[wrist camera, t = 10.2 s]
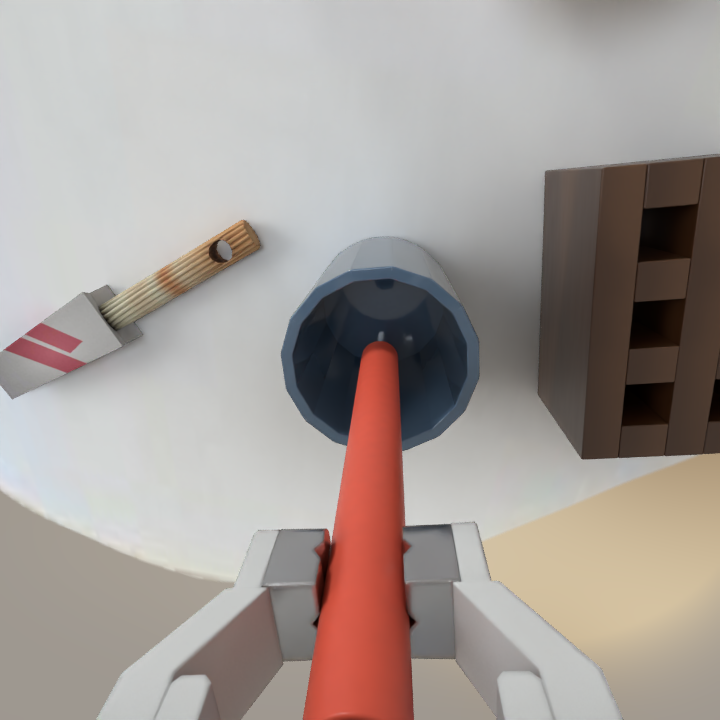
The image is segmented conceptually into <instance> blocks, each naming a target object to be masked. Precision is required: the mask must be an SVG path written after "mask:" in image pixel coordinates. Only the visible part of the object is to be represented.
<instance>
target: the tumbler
mask: <svg viewBox="0 0 720 720" xmlns="http://www.w3.org/2000/svg"><path fill="white" fill-rule="evenodd" d="M478 340H479V339H478V337H477V335H476V333H475V330H474V328H473V326H472V324H471V322H470V320H469V318H468V315H467V313H466V311H465V309H464V307H463V305H462V303H461V302H460V300H459V298H458V296H457V294H456V293H455V291H454V289H453V287H452V286H451V284H450V282H449V280H448V278H447V277H446V275H445V273H444V271H443V270H442V268H441V266H440V265H439V263H438V262H437V261H435V259H434V258H433V257H432V256H431V255H430V254H429V253H428V252H426V251H425V250H424V249H422V248H421V247H420V246H418V245H416V244H414V243H412V242H409V241H407V240H404V239H400V238H395V237H374V238H368V239H365V240H362V241H359V242H357V243H355V244H353V245H351V246H349V247H348V248H346V249H345V250H343V251H342V252H340V253H339V254H338V255H337V256H336V258H335V259H334V260H333V261H332V263H331V264H330V265H329V266H328V268H327V269H326V270H325V271H324V272H323V274H322V275H321V277H320V278H319V279H318V281H317V282H316V283H315V285H314V286H313V288H312V289H311V290H310V292H309V293H308V294H307V296H306V297H305V299H304V300H303V301H302V303H301V304H300V305H299V307H298V308H297V310H296V311H295V312H294V314H293V315H292V316H291V319H290V321H289V324H288V328H287V332H286V336H285V339H284V343H283V347H282V351H281V359H282V366H283V372H284V379H285V385H286V389H287V392H288V393H289V395H290V396H291V398H292V400H293V401H294V403H295V405H296V406H297V408H298V409H299V411H300V413H301V414H302V416H303V418H304V419H305V420H306V421H307V422H308V423H309V424H311V425H312V426H313V427H315V428H316V429H317V430H319V431H320V432H321V433H323V434H324V435H325V436H327V437H328V438H329V439H331V440H332V441H334V442H336V443H339V444H342V445H346V446H347V444H348V437H349V431H350V425H351V419H352V413H353V407H354V400H355V394H356V388H357V382H358V376H359V370H360V363H361V357H362V353H363V350H364V349H365V348H366V346H367V345H369V344H370V343H373V342H376V341H384V342H387V343H389V344H391V345H392V346H393V347H394V348H395V350H396V352H397V354H398V370H399V393H400V416H401V438H402V451H404V450H408V449H410V448H413V447H415V446H417V445H420V444H422V443H424V442H427V441H429V440H432V439H434V438H436V437H438V436H440V435H441V434H442V433H443V432H444V431H445V430H446V429H447V428H448V427H449V426H450V425H451V424H452V423H453V422H454V421H455V420H456V419H457V418H458V417H459V416H460V415H462V414H463V413H464V411H465V410H466V408H467V405H468V403H469V401H470V398H471V396H472V394H473V391H474V389H475V387H476V384H477V382H478V380H479V341H478Z"/></svg>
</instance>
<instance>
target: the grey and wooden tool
mask: <svg viewBox="0 0 720 720" xmlns="http://www.w3.org/2000/svg"><path fill="white" fill-rule="evenodd" d="M220 240H224V241H226V242H227V243H228V244H229V245H230V247H231V249H232V258H231V259H230V260H229V261H227V260H225V259H222V257H221V256H220V255H219V254H218V251H217V243H218V242H219V241H220ZM259 248H260V243H259V240H258V237H257V235H256V234H255V232H254V231H253V229H252V227H251V226H250V225H249V224H248V223H247V222H246V221H245V220H241V221H239V222H238V223H236V224H234V225H233V226H231V227H229V228H228V229H226V230H224V231H223V232H221V233H220V234H218V235H216V236H215V237H213V238H211V239H210V240H208V241H207V242H205V243H203V244H202V245H200V246H198V247H197V248H195V249H193V250H192V251H190V252H189V253H187V254H185V255H184V256H182V257H180V258H179V259H177V260H176V261H174V262H172V263H171V264H169V265H167V266H165V267H164V268H162V269H160V270H159V271H157V272H155V273H154V274H152V275H150V276H149V277H147V278H145V279H144V280H142V281H140V282H139V283H137V284H135V285H134V286H132V287H130V288H129V289H127V290H125V291H124V292H122V293H120V294H119V295H117V296H115V295H114V294H113V292H112V291H111V289H110V288H109V287H108V285H105V286H103V287H101V288H99V289H97V290H95V291H93V292H91V293H85V292H82V293H81V294H79V295H78V296H77V297H75V298H74V299H72V300H71V301H70V302H68V303H67V304H66V305H64V306H63V307H62V308H60V309H59V310H57V311H56V312H55V313H53V314H52V315H51V316H49V317H48V318H47V319H45V320H44V321H42V322H41V323H40V324H38V325H37V326H36V327H34V328H33V329H32V330H30V331H29V332H27V333H26V334H25V335H23V336H22V337H21V338H19V339H18V340H17V341H15V342H14V343H12V344H11V345H10V346H8V347H7V348H6V349H4V350H3V351H2V352H0V385H1V386H2V388H3V389H4V390H5V391H6V392H7V394H8V395H9V396H10V397H11V398H12V399H14V398H16V397H18V396H20V395H22V394H24V393H27V392H29V391H31V390H33V389H35V388H37V387H39V386H41V385H43V384H45V383H47V382H49V381H52V380H54V379H56V378H58V377H60V376H62V375H64V374H66V373H68V372H70V371H72V370H74V369H77V368H79V367H81V366H83V365H85V364H87V363H89V362H91V361H93V360H95V359H97V358H100V357H102V356H104V355H106V354H108V353H110V352H112V351H114V350H116V349H118V348H120V347H122V346H124V345H125V344H126V343H128V342H130V341H132V340H134V339H136V338H138V337H140V336H142V335H143V334H142V333H141V331H140V330H139V328H138V327H137V326H136V324H135V323H134V321H136V320H137V319H139V318H141V317H143V316H144V315H146V314H148V313H150V312H151V311H153V310H155V309H156V308H158V307H160V306H162V305H163V304H165V303H167V302H168V301H170V300H172V299H174V298H175V297H177V296H179V295H180V294H182V293H184V292H185V291H187V290H189V289H190V288H192V287H194V286H196V285H197V284H199V283H201V282H202V281H204V280H206V279H207V278H209V277H211V276H213V275H214V274H216V273H218V272H219V271H221V270H223V269H225V268H227V267H228V266H230V265H232V264H234V263H235V262H237V261H239V260H241V259H242V258H244V257H246V256H248V255H249V254H251V253H253V252H255V251H256V250H258V249H259Z"/></svg>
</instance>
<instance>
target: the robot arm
mask: <svg viewBox="0 0 720 720" xmlns="http://www.w3.org/2000/svg"><path fill="white" fill-rule="evenodd" d="M330 548H331V542H330V536H329V531H328V530H327V529H281V530H258V531H257V532H256V533H255V534H254V535H253V538H252V541H251V543H250V546H249V548H248V551H247V553H246V556H245V559H244V561H243V564H242V566H241V569H240V571H239V574H238V577H237V579H236V582H235V584H234V587H233V588H226V589H225V590H223V591H222V592H221V593H220V594H219V595H217V596H216V597H215V598H214V599H212V600H211V601H210V602H209V603H208V604H206V605H205V606H204V607H203V608H201V609H200V610H199V611H198V612H197V613H195V614H194V615H193V616H191V617H190V618H189V619H188V620H187V621H185V622H184V623H183V624H182V625H180V626H179V627H178V628H177V629H176V630H174V631H173V632H172V633H171V634H169V635H168V636H167V637H166V638H165V639H163V640H162V641H161V642H160V643H159V644H157V645H156V646H155V647H153V648H152V649H151V650H150V651H148V652H147V653H146V654H145V655H144V656H142V657H141V658H140V659H139V660H137V661H136V662H135V663H134V664H133V665H131V666H130V667H129V668H128V669H127V670H125V671H124V672H123V673H122V674H121V675H120V677H119V679H118V681H117V682H116V685H115V686H114V688H113V690H112V692H111V693H110V695H109V697H108V699H107V701H106V703H105V704H104V706H103V708H102V710H101V712H100V714H99V716H98V717H97V719H96V720H241V719H242V717H243V716H244V715H245V714H246V712H247V711H248V710H249V708H250V707H251V706H252V705H253V703H254V702H255V701H256V699H257V698H258V697H259V695H260V694H261V693H262V691H263V690H264V689H265V688H266V686H267V685H268V684H269V682H270V681H271V680H272V678H273V677H274V676H275V675H276V673H277V672H278V671H279V669H280V668H281V667H282V665H283V662H284V661H306V660H312V659H313V653H314V647H315V641H316V635H317V628H318V622H319V616H320V610H321V604H322V598H323V592H324V586H325V579H326V573H327V568H328V561H329V554H330ZM403 549H404V555H403V558H404V581H405V596H406V610H407V613H408V614H409V621H410V644H411V658H419V659H456V662H457V664H458V665H459V666H460V668H461V669H462V671H463V672H464V673H465V675H466V676H467V677H468V679H469V680H470V682H471V683H472V684H473V686H474V687H475V688H476V690H477V691H478V693H479V694H480V695H481V697H482V698H483V699H484V701H485V702H486V703H487V705H488V706H489V708H490V709H491V710H492V712H493V713H494V715H495V716H496V717H497V720H623V718H622V715H621V713H620V711H619V708H618V706H617V704H616V701H615V699H614V697H613V694H612V692H611V690H610V687H609V685H608V683H607V681H606V678H605V676H604V674H603V671H602V669H601V668H600V667H599V666H598V665H597V664H595V663H594V662H593V661H592V660H591V659H590V658H589V657H587V656H586V655H585V654H584V653H583V652H581V651H580V650H579V649H578V648H577V647H576V646H575V645H573V644H572V643H571V642H570V641H569V640H568V639H566V638H565V637H564V636H563V635H562V634H561V633H559V632H558V631H557V630H556V629H555V628H554V627H552V626H551V625H550V624H549V623H548V622H546V621H545V620H544V619H543V618H542V617H541V616H540V615H538V614H537V613H536V612H535V611H534V610H533V609H531V608H530V607H529V606H528V605H527V604H526V603H524V602H523V601H522V600H521V599H520V598H519V597H517V596H516V595H515V594H514V593H513V592H511V591H510V590H509V589H508V588H507V587H506V586H504V585H503V584H502V583H501V582H500V581H491V577H490V573H489V570H488V565H487V562H486V557H485V554H484V550H483V546H482V542H481V538H480V534H479V530H478V526H477V524H476V523H475V522H462V523H451V524H439V525H416V526H403Z"/></svg>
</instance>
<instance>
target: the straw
mask: <svg viewBox="0 0 720 720" xmlns="http://www.w3.org/2000/svg"><path fill="white" fill-rule="evenodd" d="M403 526H405V507H404V484H403V461H402V438H401V416H400V393H399V370H398V354H397V352H396V350H395V348H394V347H393V346H392V345H391V344H389V343H387V342H384V341H376V342H373V343H370V344H369V345H367V346H366V348H365V349H364V350H363V353H362V357H361V363H360V370H359V376H358V382H357V388H356V394H355V400H354V407H353V413H352V419H351V425H350V431H349V437H348V444H347V450H346V456H345V462H344V468H343V474H342V480H341V487H340V493H339V499H338V505H337V511H336V517H335V524H334V530H333V536H332V542H331V548H330V554H329V561H328V568H327V573H326V579H325V586H324V592H323V598H322V604H321V610H320V616H319V622H318V628H317V635H316V641H315V647H314V653H313V659H312V666H311V671H310V678H309V685H308V690H307V696H306V702H305V708H304V715H303V720H414V713H413V690H412V667H411V644H410V621H409V614H408V613H407V610H406V596H405V581H404V558H403V555H404V549H403Z"/></svg>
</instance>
